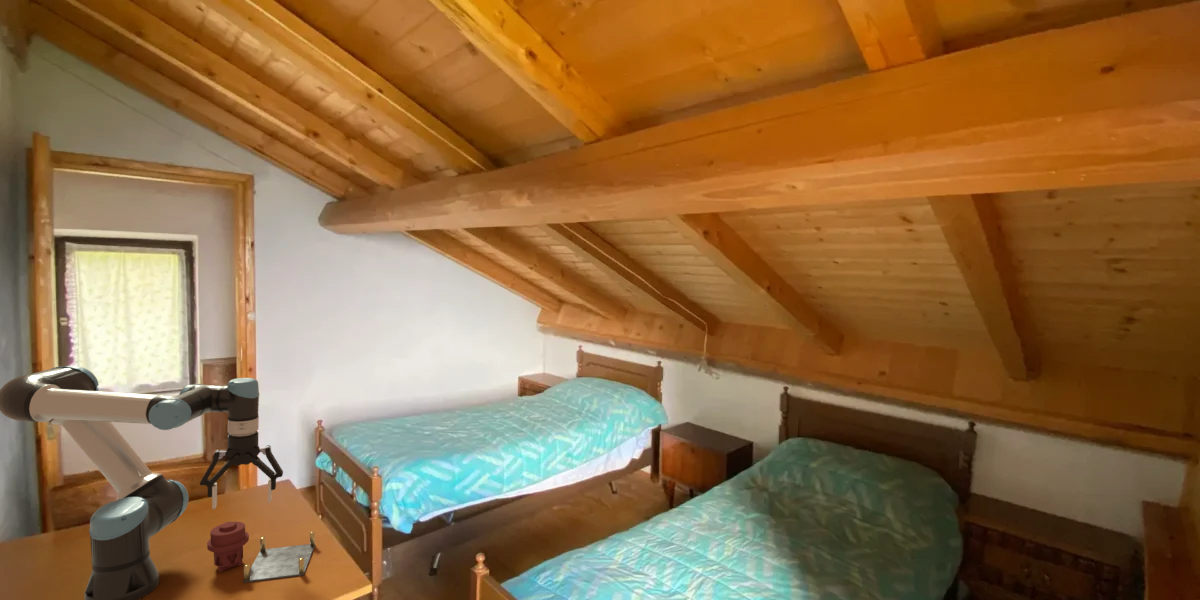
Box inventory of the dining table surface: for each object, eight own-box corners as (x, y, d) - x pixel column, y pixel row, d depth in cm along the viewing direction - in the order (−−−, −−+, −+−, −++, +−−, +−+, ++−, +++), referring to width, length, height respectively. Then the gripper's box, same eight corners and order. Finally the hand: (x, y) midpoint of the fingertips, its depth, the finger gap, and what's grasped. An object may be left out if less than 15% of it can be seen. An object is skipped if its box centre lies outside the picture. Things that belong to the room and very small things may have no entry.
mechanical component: (257, 558, 167) (229, 577, 157) (229, 554, 169) (199, 572, 159) (256, 518, 166) (227, 535, 156) (227, 514, 168) (197, 530, 158)
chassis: (243, 582, 155) (242, 567, 155) (260, 551, 171) (260, 536, 171) (303, 575, 159) (303, 560, 159) (315, 544, 176) (315, 531, 175)
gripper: (187, 440, 153) (187, 515, 155) (291, 432, 164) (290, 503, 166) (193, 432, 160) (193, 504, 162) (293, 425, 171) (292, 492, 173)
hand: (242, 503), depth 164 cm, fingers open, 13 cm apart
